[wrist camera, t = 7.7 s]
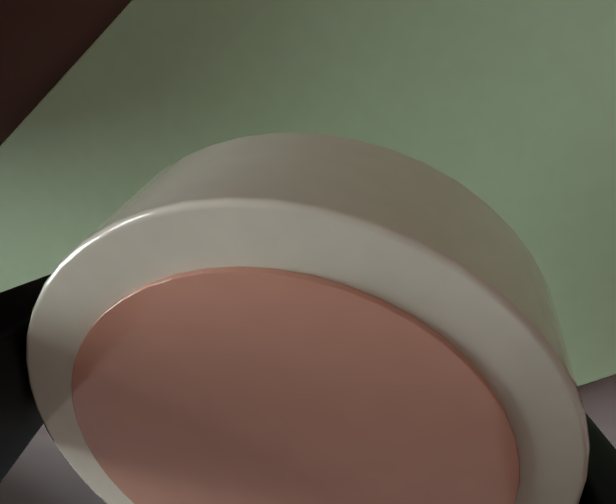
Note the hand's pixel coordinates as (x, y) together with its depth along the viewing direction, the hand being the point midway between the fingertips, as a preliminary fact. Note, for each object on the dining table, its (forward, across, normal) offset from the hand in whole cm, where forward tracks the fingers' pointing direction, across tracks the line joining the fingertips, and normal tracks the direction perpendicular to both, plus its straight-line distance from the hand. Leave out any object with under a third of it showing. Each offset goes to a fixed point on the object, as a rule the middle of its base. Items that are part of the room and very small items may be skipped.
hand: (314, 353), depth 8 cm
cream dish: (+1, 0, 0) cm, 1 cm away
